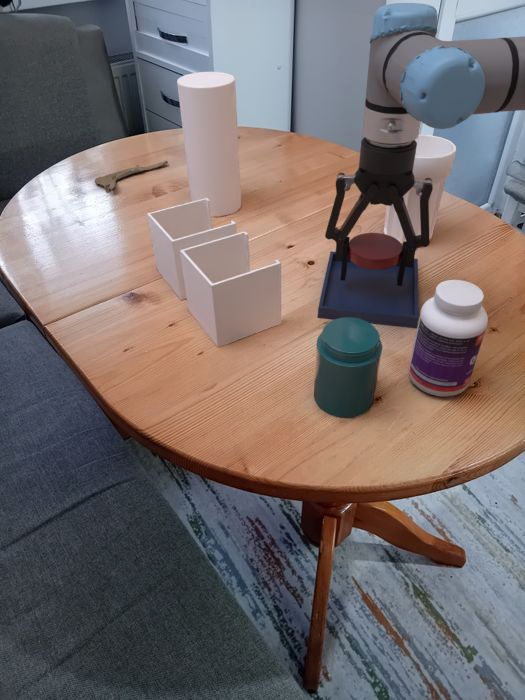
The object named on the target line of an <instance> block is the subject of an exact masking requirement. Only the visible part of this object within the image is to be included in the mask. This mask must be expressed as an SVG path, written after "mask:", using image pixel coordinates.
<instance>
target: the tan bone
mask: <svg viewBox="0 0 525 700" xmlns="http://www.w3.org/2000/svg"><path fill="white" fill-rule="evenodd" d="M167 164H169V162H168V160H164V161H162V162H158V163H155V164H152V165H147V166H135V167H134V166H133V167H129V168H126V169H122V170H119V171H116V172H115V171H114V172H112V173H109V174H106V175H103V176H98V177H96V178H95V179H94V181H93V182H94V183H95V185H99V186H100V185H101V186H102V187H104V190H105V192H106V193H109V192H110V191H111V190H113V189H114V188H115V187H116V185H117V181H118V180H120V179H123V178H126V177H128V176H130V175H134V174H138V173H140V172H144V171H150V170H153V169H159V168H162V167H163V166H165V165H167Z"/></svg>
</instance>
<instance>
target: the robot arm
mask: <svg viewBox="0 0 525 700" xmlns="http://www.w3.org/2000/svg"><path fill="white" fill-rule="evenodd" d="M438 15H439V14H438V11H437V9H436V8H435V7H434V6H433V5H430V4H426V3H417V2H396V3H388V4H384V5H381V6H380V7H378V9H377V10H376V11H375V13H374V15H373V16H374V17H373V22H372V28H371V34H370V37H369V44H370V45H369V55H368V68H367V79H366V88H365V89H366V90H365V102H364V108H363V120H362V132H361V135H362V136H363V138H362V139H361V141H360V152H359V161H358V168H357V170H356V172H355V173H354V174H345V172H338V173H337V176H336V179H335V192H336V195H335V198H334V201H333V205H332V208H331V212H330V216H329V219H328V222H327V226H326V231H325V234H324V236H325V239H327V240H333V241H334V242H335V252H336V255H335V258H336V260H342V268H341V280H343V281H345V278H346V272H347V261H348V249H349V242H350V240H351V237H350V236H349V235H350V233H351V232H352V230H353V228H355V225H356V224H357V222H358V221H359V219H360V218H361V216H362V215H363V213H364V211H365V210H366V209H367V207H368V206H369V205H373V206H374V205H375V206H376V205H384V206H386V205H387V206H392V204H393V206H394V209H395V212H396V213H397V216H398V219H399V221H400V224H401V227H402V230H403V233H404V236H405V239H406V242H405V241H403V246H402V247H403V249H402V255H401V260H400V264H399V270H398V276H397V286H402V282H403V276H404V271H405V266H412V265H413V261H414V259H415V255H416V251H417V249H418V248H427V247H429V246H430V242H431V241H430V240H429V198H430V195H431V193H432V190H433V184H432V179H431V178H426V179H425V180H423V179H418V178H415V177H414V174H413V166H414V160H415V154H416V147H417V142H416V141H415V139H416V138H417V137H418V135H419V134H420V129H421V123H422V124H424V125H425V126H427V127H430V128H432V129H435V130H446V129H447V130H448V129H451V128H454V127H456V126H457V125H459V124H462V122H464V121H466V120H468V119H469V118H470V117H471V116H472V115H484V114H492V113H493V114H495V113H501V112H514V111H516V112H517V111H525V36H511V37H510V36H509V37H497V38H495V37H494V38H480V39H479V38H477V39H461V40H442V39H440V38H437V37H436V35H437V33H438V28H437V27H438ZM353 184H355V186H356V187H357V189H358V190H359V192H360V194H359V196H358V199H357V201H356V202H355V203H354V205H353V206H352V209H351V210H350V212H349V213H348V215H347V217H346V218H345V220H344V221H343V223H342V224H341V226H340V228H339V229H338V228H336V227H337V224H338V221H339V217H340V214H341V210H342V206H343V203H344V200H345V196H346V192H349V191H350V190H351V187H352V185H353ZM412 187H414V188H415V189H416V194H417V195H418V196H420V222H421V235H418V236H416V235H415V232H414V229H413V226H412V223H411V220H410V217H409V214H408V211H407V208H406V205H405V202H404V197H403V196H404V195H405V194H406V193H407V192H408V191H409V190H410V189H411V188H412Z"/></svg>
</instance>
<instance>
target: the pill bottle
mask: <svg viewBox="0 0 525 700" xmlns="http://www.w3.org/2000/svg"><path fill="white" fill-rule="evenodd" d="M484 298H485V296H484V292H483V291H482V289H481V288H480V287H479V286H477V285H476V284H473V283H472V282H470V281H466V280H462V279H448V280H444V281H441V282H440V283H438V285H437V286H436V287H435V292H434V294H433V296H432V297H429V299H427V300H426V301H425V302H424V303H423V305H422V306H421V308H420V312H419V319H418V324H417V328H416V332H415V337H414V341H413V346H412V351H411V356H410V361H409V366H408V375H409V379H410V380H411V382H412V383H413V384H414V386H415V387H417V388H418V389H419V390H420V391H422V392H423V393H426V394H429V395H431V396H436V397H452V396H457V395H459V394H461V393H463V392H464V391H465V390H466V389H467V388H468V386H469V384H470V381H471V378H472V375H473V372H474V369H475V365H476V362H477V359H478V356H479V352H480V349H481V347H482V343H483V340H484V337H485V333H486V330H487V327H488V323H489V317H488V313H487V311H486V310H485V308H484V307H483V306H482V305H483V302H484Z"/></svg>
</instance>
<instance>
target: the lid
mask: <svg viewBox="0 0 525 700" xmlns="http://www.w3.org/2000/svg"><path fill="white" fill-rule="evenodd" d="M402 249H403V247H402V244H401V243H400V241H398V240H397V239H396V238H394V237H392V236H389V235H386V234H383V233H381V232H380V233H379V232H365V233H360V234H357V235H355V236H353V237H352V238H350V240H349V249H348V257H349V259H350V261H351V262H353V263H354V264H355V265H357V266H359V267H362V268H365V269H371V270H385V269H389V268H392V267H394V266H396V265H397V264H398V263H399V262H400V260H401V255H402Z"/></svg>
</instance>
